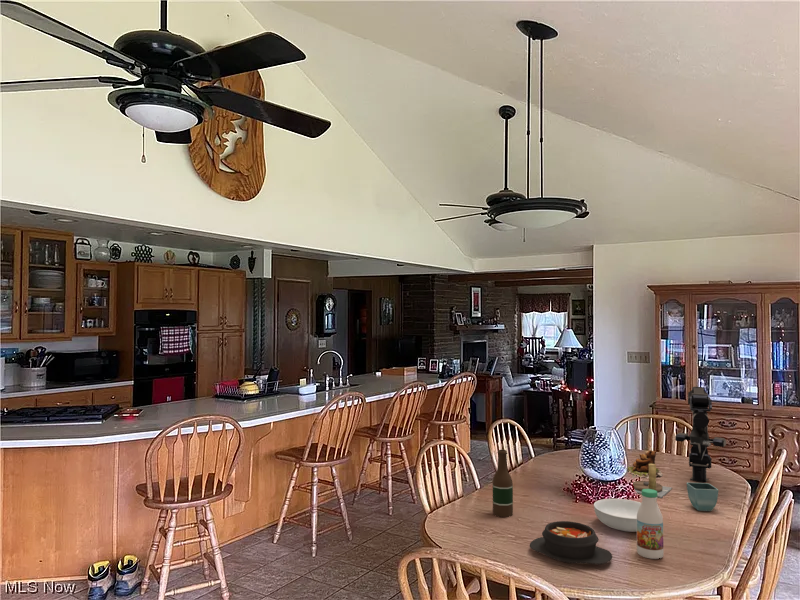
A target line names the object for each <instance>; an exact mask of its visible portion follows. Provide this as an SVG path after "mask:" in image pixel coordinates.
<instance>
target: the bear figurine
mask: <svg viewBox="0 0 800 600" xmlns="http://www.w3.org/2000/svg"><path fill="white" fill-rule="evenodd" d="M657 453H658V452H657V450H646V451H645V453H642V454H641V453H639V457H640V458H636V459H635V461H634V462H633V463H632V466H628V471H629V472H628V471H627V472H628V473H629V474H630V472H631V474H632V475H633V474H634V476H636V475H637V476H636V477H640V478H642V477H643V478H645V479H648V478H649V464H655V465H656V455H657ZM658 476H659V477H664V474H663V473H662V470H660V469H659V468H656V478H657V477H658Z"/></svg>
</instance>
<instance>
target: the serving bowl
mask: <svg viewBox="0 0 800 600" xmlns="http://www.w3.org/2000/svg"><path fill="white" fill-rule="evenodd" d="M641 503H642V502H640V501H635V500H631V499H624V498H603V499H599V500H596V501H595V502H594V503H593V509H594V513H595V516H596V518H597V519H598V520H599V521H600V522H601V523H602V524H603V525H605V526H607V527H609V528H612V529H614V530H617V531H619V532H620V531H622V532H630V533H631V532H633V533H634V532H636V533H637V513H638V509H639V507H640V505H641Z"/></svg>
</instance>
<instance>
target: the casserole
mask: <svg viewBox="0 0 800 600" xmlns="http://www.w3.org/2000/svg"><path fill="white" fill-rule="evenodd" d="M597 543H599V537H598V536H597V534H596V531H595V529H594V528H593V527H591V526H589V525H587V524H583V523H580V522H575V521H570V520H569V521H568V520H561V521H560V520H559V521H553V522H549V523H547V524H546V525H545V526H544V529H543V530H542V532H541V536H540V537H537V538H535V539H533V540H532V541H531V542H530V543H529V548H530V549H531V550H532V551H534V552H537V553H539V554H543V555H545V556H546V557H548V558H550V559H553V560H556V561H558V562H563V563H568V564H591V565H604V564H607V563H609V562H610V561H611V560H613V553H612V552H611V551H610V550H608V549H606V548H602V547H599V546H597Z"/></svg>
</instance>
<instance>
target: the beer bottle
mask: <svg viewBox="0 0 800 600" xmlns="http://www.w3.org/2000/svg"><path fill="white" fill-rule="evenodd" d="M497 455H498V456H497V468H496V472H495V473H494V475H493V477H492V512H493V516H495V515H496V516H495V517H498V516H499V517H498V518H510V517H513V515H514V513H513V512H514V495H513V494H514V486H513V479H512V477H511V475H510V473H509V470H508V459H507V457H508V456H507V455H508V451H507V450H506V449H498V450H497ZM509 516H510V517H509Z"/></svg>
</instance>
